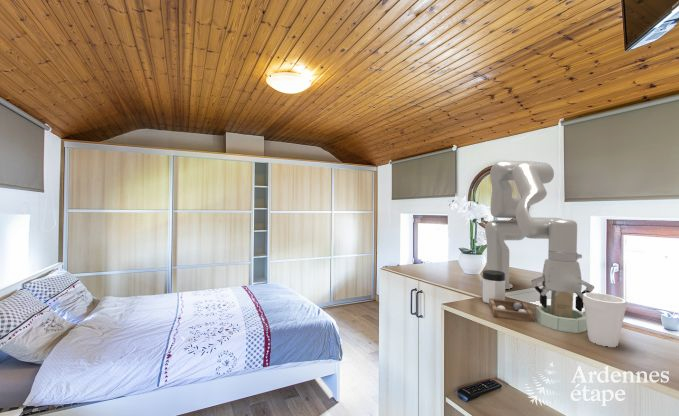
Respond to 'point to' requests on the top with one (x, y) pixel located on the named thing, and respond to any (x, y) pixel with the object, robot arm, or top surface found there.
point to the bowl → (561, 320)
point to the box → (561, 304)
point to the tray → (510, 314)
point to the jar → (493, 285)
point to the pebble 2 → (517, 306)
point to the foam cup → (604, 318)
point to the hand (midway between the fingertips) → (561, 308)
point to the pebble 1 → (501, 307)
